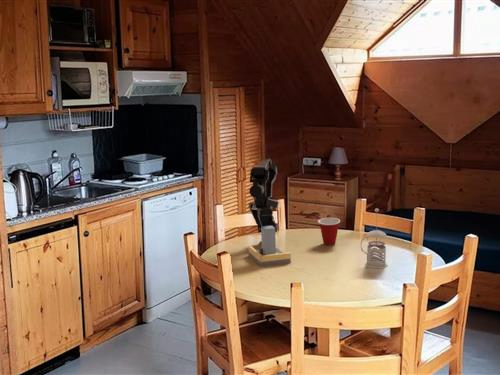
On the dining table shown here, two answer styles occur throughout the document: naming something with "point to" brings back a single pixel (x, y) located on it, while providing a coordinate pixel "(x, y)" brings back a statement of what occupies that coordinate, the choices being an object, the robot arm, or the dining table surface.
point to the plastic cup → (329, 230)
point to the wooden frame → (269, 257)
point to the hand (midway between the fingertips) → (260, 226)
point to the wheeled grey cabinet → (268, 240)
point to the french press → (375, 249)
